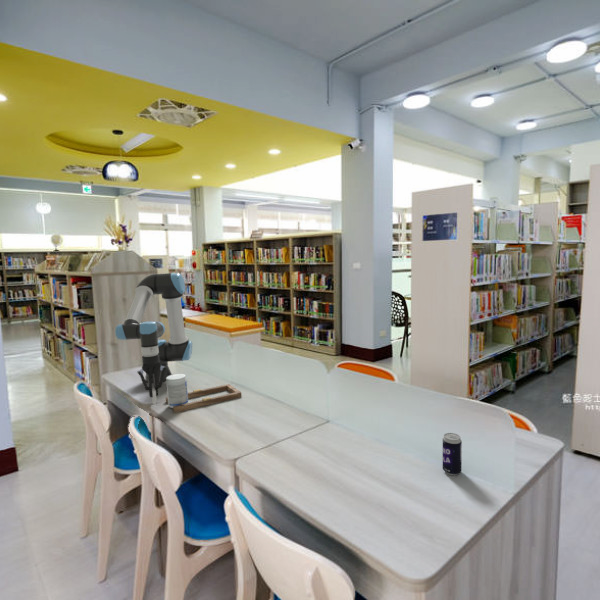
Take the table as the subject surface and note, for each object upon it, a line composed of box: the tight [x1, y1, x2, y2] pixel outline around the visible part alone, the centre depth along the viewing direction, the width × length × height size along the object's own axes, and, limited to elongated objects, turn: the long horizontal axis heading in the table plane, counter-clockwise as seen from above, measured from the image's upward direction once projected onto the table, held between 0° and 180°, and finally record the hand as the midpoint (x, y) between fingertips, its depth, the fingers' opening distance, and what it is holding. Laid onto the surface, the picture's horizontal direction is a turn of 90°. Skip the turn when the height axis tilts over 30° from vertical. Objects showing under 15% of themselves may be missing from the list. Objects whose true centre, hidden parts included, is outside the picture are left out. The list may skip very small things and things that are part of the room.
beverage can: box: [442, 432, 463, 476], centre depth 127 cm, size 6×6×12 cm
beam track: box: [165, 383, 243, 413], centre depth 202 cm, size 17×34×3 cm, turn 122°
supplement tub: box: [165, 373, 189, 409], centre depth 194 cm, size 10×10×15 cm
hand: (154, 402), depth 189 cm, fingers closed
